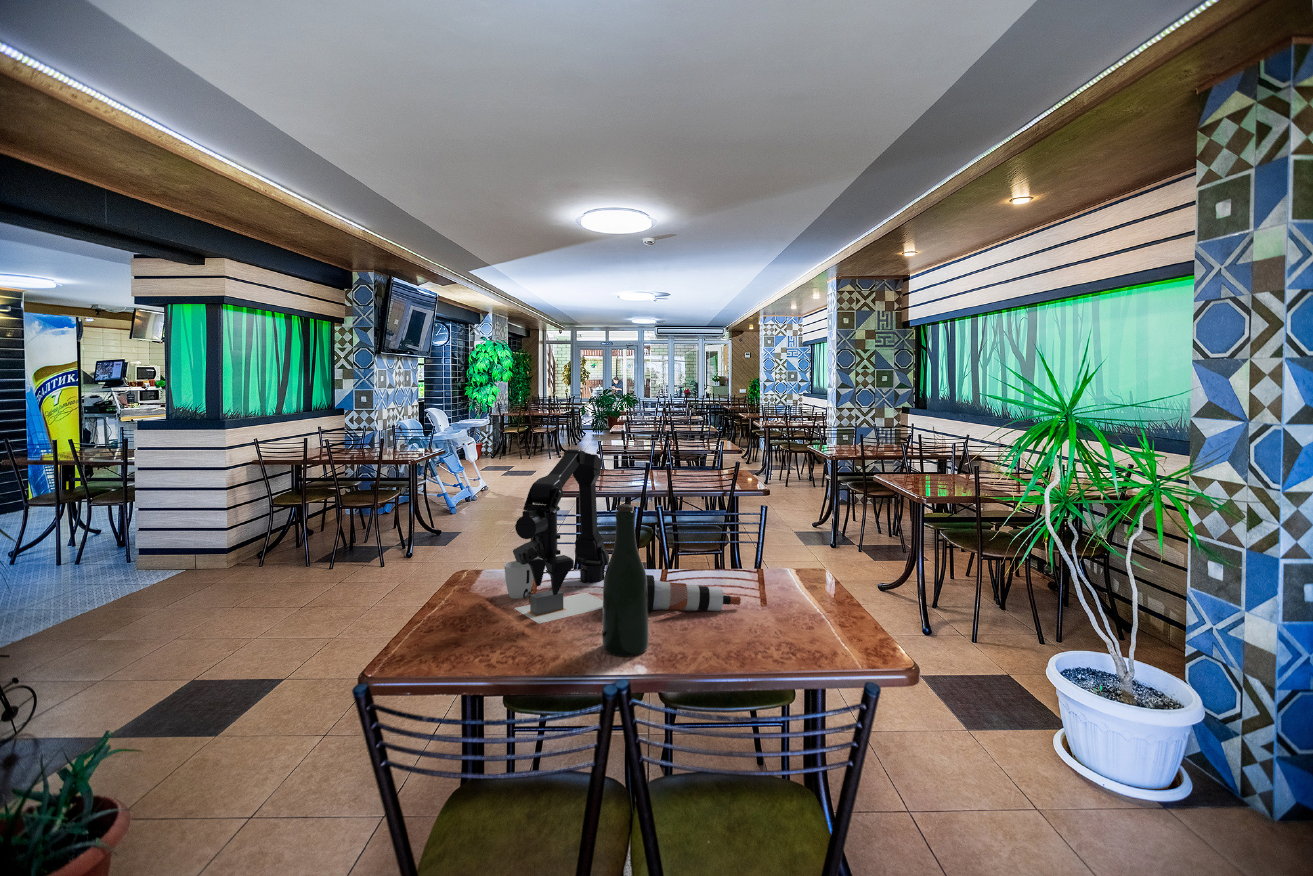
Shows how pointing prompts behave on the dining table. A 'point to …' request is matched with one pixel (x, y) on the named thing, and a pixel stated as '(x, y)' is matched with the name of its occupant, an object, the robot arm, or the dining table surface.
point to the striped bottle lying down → (686, 597)
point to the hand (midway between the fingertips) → (546, 590)
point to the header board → (566, 608)
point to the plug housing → (546, 602)
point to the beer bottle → (625, 592)
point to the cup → (518, 579)
